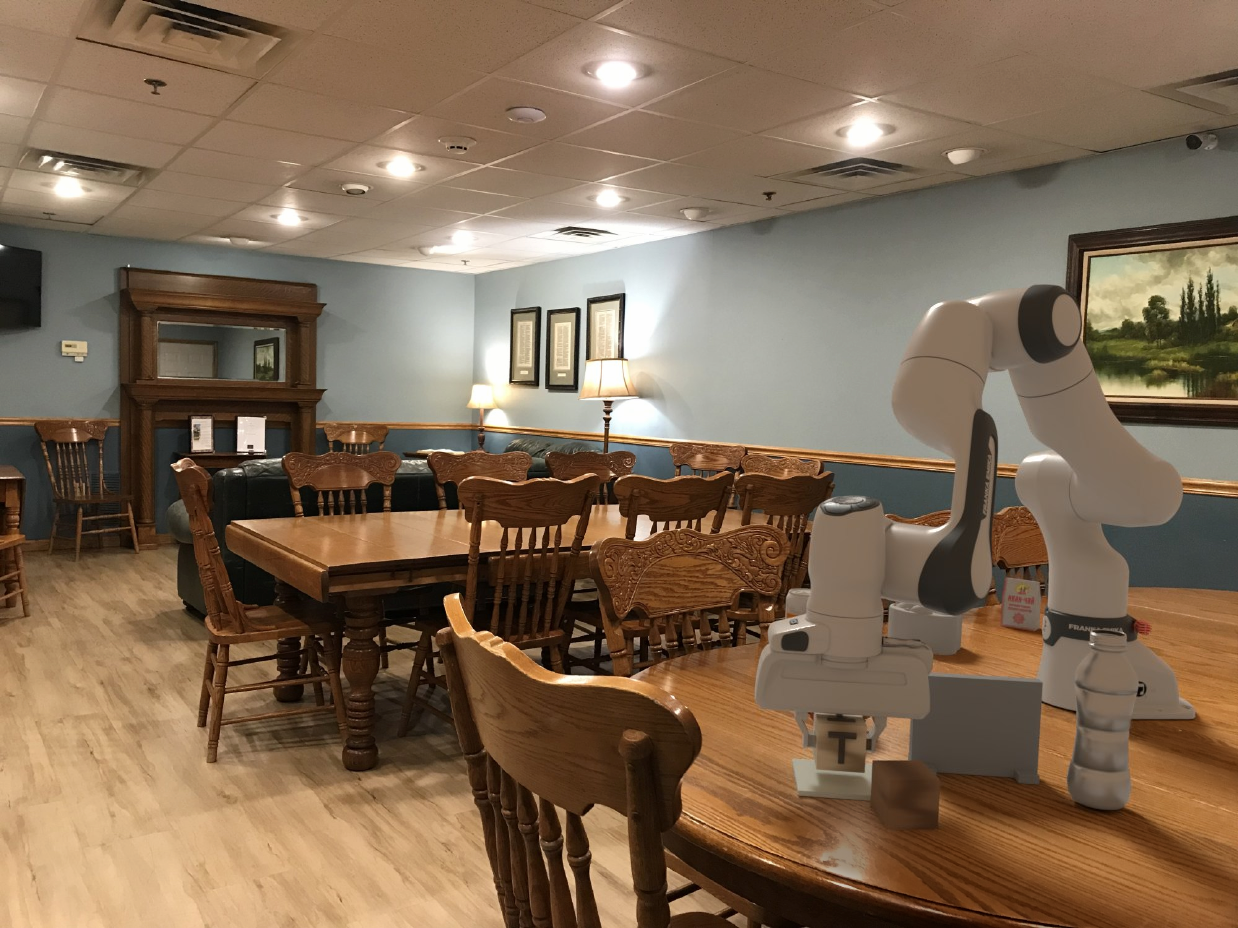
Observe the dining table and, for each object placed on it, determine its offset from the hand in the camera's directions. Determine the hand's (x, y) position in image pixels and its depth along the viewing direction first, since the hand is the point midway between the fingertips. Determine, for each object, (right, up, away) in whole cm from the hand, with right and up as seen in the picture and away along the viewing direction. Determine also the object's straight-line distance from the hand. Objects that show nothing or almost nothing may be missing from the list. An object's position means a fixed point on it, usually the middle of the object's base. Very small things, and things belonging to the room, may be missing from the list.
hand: (838, 748), depth 113 cm
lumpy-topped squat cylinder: (+32, -1, +67) cm, 74 cm away
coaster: (0, -4, 0) cm, 4 cm away
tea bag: (+58, 0, +85) cm, 103 cm away
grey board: (+18, -4, +4) cm, 19 cm away
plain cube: (+5, -5, -9) cm, 12 cm away
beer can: (+3, -2, +40) cm, 40 cm away
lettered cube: (0, -2, 0) cm, 2 cm away
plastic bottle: (+29, -5, -4) cm, 29 cm away
